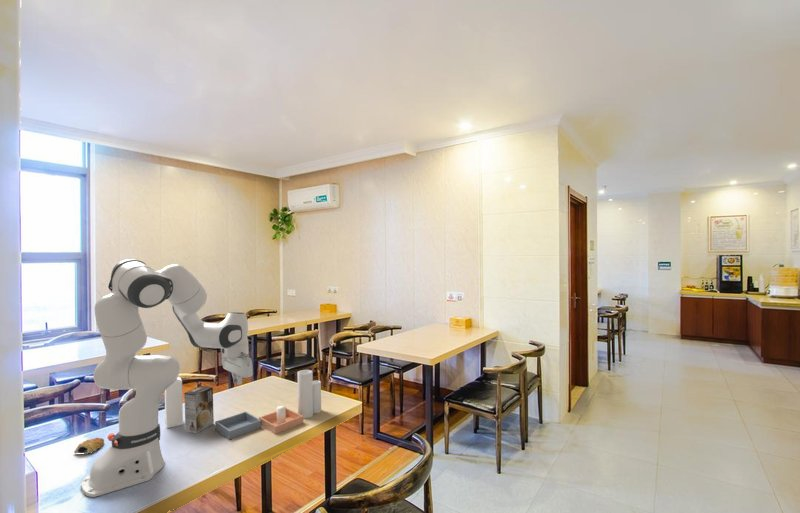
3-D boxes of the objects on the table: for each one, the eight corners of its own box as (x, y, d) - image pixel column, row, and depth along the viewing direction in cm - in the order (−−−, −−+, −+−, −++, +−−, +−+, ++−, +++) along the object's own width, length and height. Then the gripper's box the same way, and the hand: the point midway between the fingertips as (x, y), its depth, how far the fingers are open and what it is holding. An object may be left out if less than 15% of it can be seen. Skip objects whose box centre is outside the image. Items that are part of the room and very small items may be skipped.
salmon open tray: (275, 435, 155) (275, 426, 155) (259, 425, 164) (258, 417, 163) (303, 424, 165) (303, 416, 164) (286, 415, 173) (286, 407, 173)
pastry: (92, 443, 150) (91, 433, 150) (109, 442, 150) (109, 433, 150) (72, 456, 141) (72, 445, 141) (91, 455, 141) (91, 445, 141)
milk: (166, 428, 162) (165, 376, 161) (165, 423, 166) (163, 372, 166) (183, 424, 165) (181, 373, 165) (181, 419, 170) (179, 369, 170)
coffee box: (202, 421, 168) (201, 385, 167) (214, 423, 166) (213, 386, 165) (184, 431, 159) (183, 392, 159) (196, 433, 157) (195, 394, 157)
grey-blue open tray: (229, 440, 151) (229, 431, 151) (215, 429, 160) (215, 421, 160) (261, 428, 161) (260, 420, 161) (246, 419, 170) (245, 411, 170)
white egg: (279, 426, 161) (279, 409, 161) (275, 423, 164) (275, 407, 164) (287, 423, 164) (287, 407, 164) (282, 421, 167) (282, 405, 166)
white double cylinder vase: (306, 420, 168) (305, 375, 167) (294, 417, 171) (293, 372, 171) (323, 411, 178) (322, 368, 177) (311, 408, 181) (311, 366, 181)
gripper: (256, 353, 155) (257, 387, 155) (233, 345, 169) (234, 376, 169) (241, 356, 150) (241, 391, 151) (218, 348, 164) (219, 380, 164)
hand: (237, 383), depth 160 cm, fingers closed
